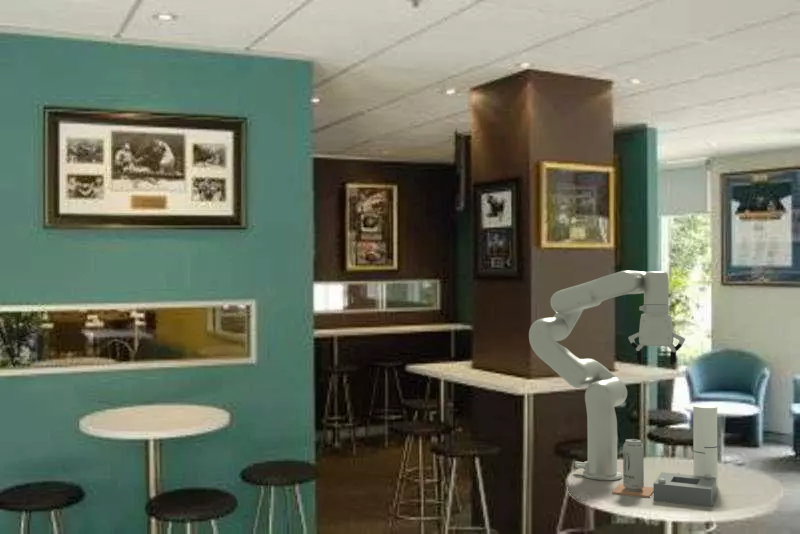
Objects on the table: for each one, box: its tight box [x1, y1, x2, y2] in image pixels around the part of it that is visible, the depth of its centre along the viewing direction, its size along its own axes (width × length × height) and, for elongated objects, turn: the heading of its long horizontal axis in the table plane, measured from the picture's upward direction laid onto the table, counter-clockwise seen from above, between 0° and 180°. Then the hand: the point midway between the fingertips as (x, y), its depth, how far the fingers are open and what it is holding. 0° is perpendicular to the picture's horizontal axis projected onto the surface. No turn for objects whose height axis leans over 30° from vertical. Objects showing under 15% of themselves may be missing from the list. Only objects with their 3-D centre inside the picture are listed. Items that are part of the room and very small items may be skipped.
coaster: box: [611, 483, 654, 499], centre depth 257 cm, size 11×11×1 cm
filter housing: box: [653, 472, 717, 508], centre depth 251 cm, size 16×16×6 cm
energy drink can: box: [622, 438, 645, 492], centre depth 257 cm, size 6×6×15 cm
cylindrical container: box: [692, 404, 719, 488], centre depth 265 cm, size 7×7×25 cm
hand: (656, 363), depth 266 cm, fingers open, 9 cm apart
